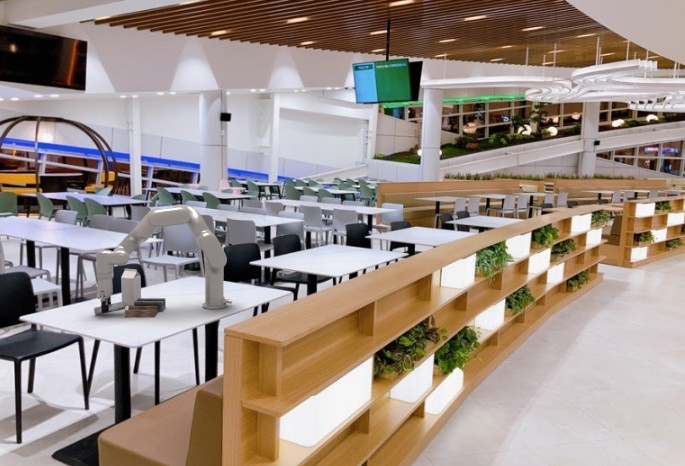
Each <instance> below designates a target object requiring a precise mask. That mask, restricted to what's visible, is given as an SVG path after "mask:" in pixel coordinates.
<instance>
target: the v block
mask: <svg viewBox="0 0 685 466" xmlns="http://www.w3.org/2000/svg"><path fill="white" fill-rule="evenodd" d="M134 306H158V313H164V310H165V309H166V308H167V307H166V297H165V298H162V297H159V298H158V297H144V298H143V297H141V298H138V299H137V301H135V302H134Z"/></svg>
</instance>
